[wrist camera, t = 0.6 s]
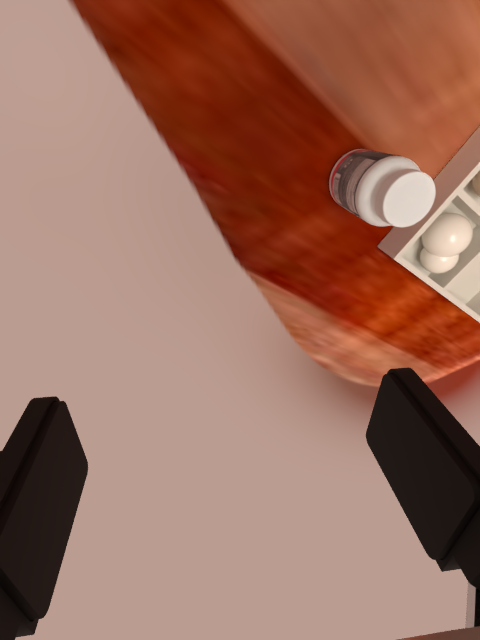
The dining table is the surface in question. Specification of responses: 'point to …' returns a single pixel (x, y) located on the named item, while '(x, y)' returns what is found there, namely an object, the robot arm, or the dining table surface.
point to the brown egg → (476, 183)
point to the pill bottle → (382, 188)
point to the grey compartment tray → (451, 197)
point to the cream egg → (445, 242)
